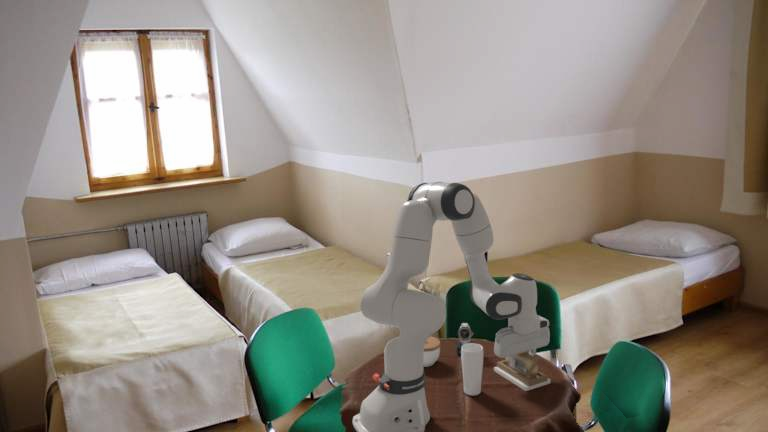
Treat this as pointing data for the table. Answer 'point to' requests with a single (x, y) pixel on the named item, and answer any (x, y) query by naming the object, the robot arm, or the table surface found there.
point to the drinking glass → (472, 368)
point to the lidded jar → (431, 351)
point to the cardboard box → (525, 365)
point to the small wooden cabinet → (521, 377)
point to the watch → (463, 336)
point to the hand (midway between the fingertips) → (521, 363)
